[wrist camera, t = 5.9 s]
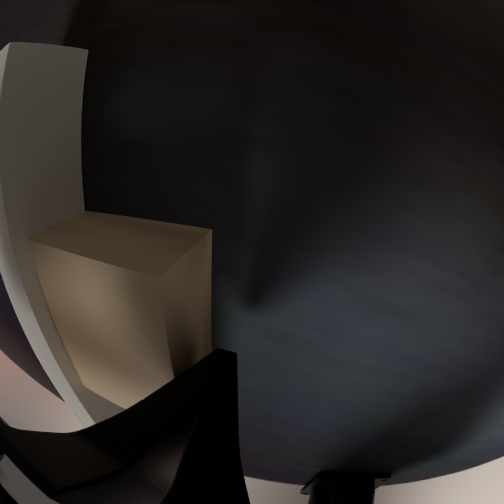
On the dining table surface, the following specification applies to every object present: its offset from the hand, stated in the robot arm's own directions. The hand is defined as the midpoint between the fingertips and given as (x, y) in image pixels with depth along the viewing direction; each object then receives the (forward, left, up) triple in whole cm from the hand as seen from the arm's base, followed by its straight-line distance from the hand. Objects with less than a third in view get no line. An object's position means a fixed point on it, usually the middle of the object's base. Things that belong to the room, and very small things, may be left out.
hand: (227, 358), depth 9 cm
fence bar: (0, +8, -2) cm, 9 cm away
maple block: (0, +4, -2) cm, 5 cm away
